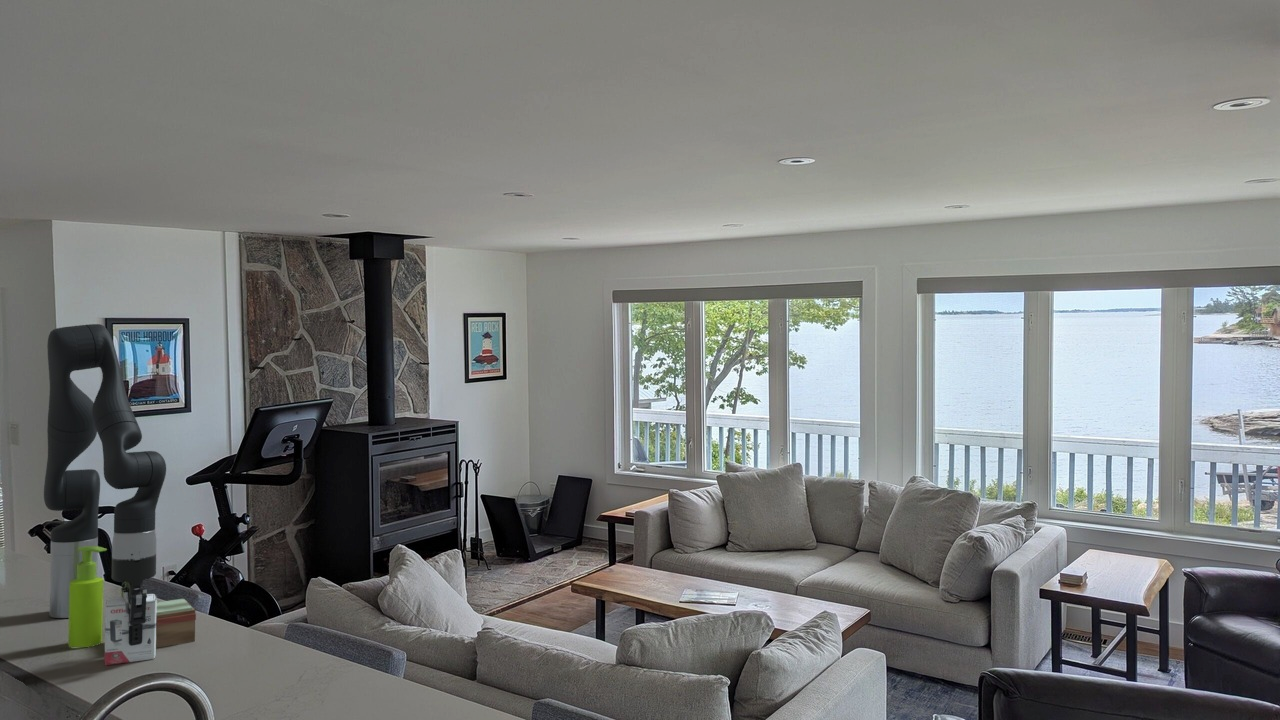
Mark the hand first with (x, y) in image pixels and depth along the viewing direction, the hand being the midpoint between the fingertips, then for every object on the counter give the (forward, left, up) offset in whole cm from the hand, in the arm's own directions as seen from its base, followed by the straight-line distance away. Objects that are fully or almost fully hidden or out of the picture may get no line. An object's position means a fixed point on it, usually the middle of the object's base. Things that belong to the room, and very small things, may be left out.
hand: (133, 640), depth 168 cm
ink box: (0, 0, -4) cm, 4 cm away
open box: (-10, +6, -4) cm, 12 cm away
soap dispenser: (-16, -6, -4) cm, 18 cm away
